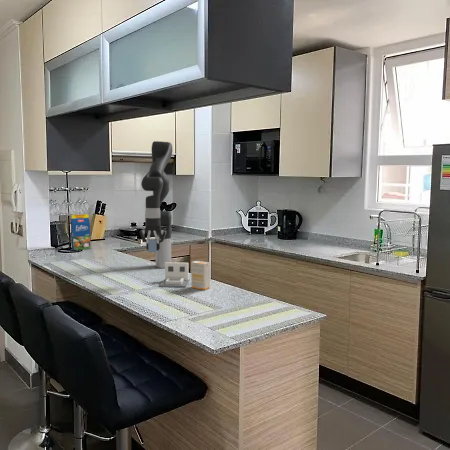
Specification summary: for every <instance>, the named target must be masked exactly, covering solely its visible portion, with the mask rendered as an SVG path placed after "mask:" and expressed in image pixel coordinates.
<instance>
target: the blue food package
mask: <svg viewBox="0 0 450 450" xmlns="http://www.w3.org/2000/svg"><path fill="white" fill-rule="evenodd" d="M70 238H71V239H70V240H71V250H72V251H75V250H76V251H78V250H88V249H91V248H92V247H91V223H90V217H89V214H88V213H86V214H85V213H84V214H71V219H70Z"/></svg>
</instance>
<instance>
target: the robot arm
mask: <svg viewBox="0 0 450 450" xmlns="http://www.w3.org/2000/svg"><path fill="white" fill-rule="evenodd" d="M172 156H173V144H172V143H171V142H169V141H159V140H158V141H157V140H156V141H155V140H154V141H153V142H152V144H151V162H152V163H151V165H150V168H149V171H148V172H147V173H146V174H145V175H144V176H143V178H142V180H141V184H140V185H141V188H142V190H144V191H146V192H152V194H151V195H148V196H146V197H145V211H144V212H145V213H144V218H145V219H144V221H145V224H144V225H145V228H144V229H141V230H140V231H139V235H140V239H141V241H142V242H143V243H145V244H146V246H145V247H146V250H148V240H150V239H152V237H153V238H154V239H156V240H157V252H155V267H156V268H158V269H165V262H172V213H171V211H168V210H165V211H164V210H163V211H162V210H161V208H160V207H161V205H162V203H163V202H164V200H165V199H166V197H167V196H168V194H169V192H170V179H169V177H168V176H167V174H166V172H165V169H166V167H167V165H168V164H169V162H170V159H171V158H172ZM162 227H163V228H164V229H162ZM145 234H146V235H147V236H145Z"/></svg>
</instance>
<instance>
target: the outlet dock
mask: <svg viewBox="0 0 450 450" xmlns="http://www.w3.org/2000/svg"><path fill="white" fill-rule="evenodd" d="M189 283H190V279H189V262H179V261H177V262H175V261H174V262H172V261H171V262H165V268H164V279H163V281H161V283H160V284H159V287H161V288H187V286H188V284H189Z"/></svg>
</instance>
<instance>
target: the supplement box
mask: <svg viewBox="0 0 450 450" xmlns="http://www.w3.org/2000/svg"><path fill="white" fill-rule="evenodd" d="M210 264H211V263H210V262H207V261H201V260H195V261H194V260H193V261H191V264H190V265H191V267H190V268H191V270H190V271H191V275H190V276H191V278H190V279H191V283H190V286H191V288H192V289H197V290H201V291H206V290H209V289H210V287H211V286H210V285H211V282H210V281H211V280H210V279H211V277H210V275H211V274H210V270H211V269H210V266H211V265H210Z"/></svg>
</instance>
